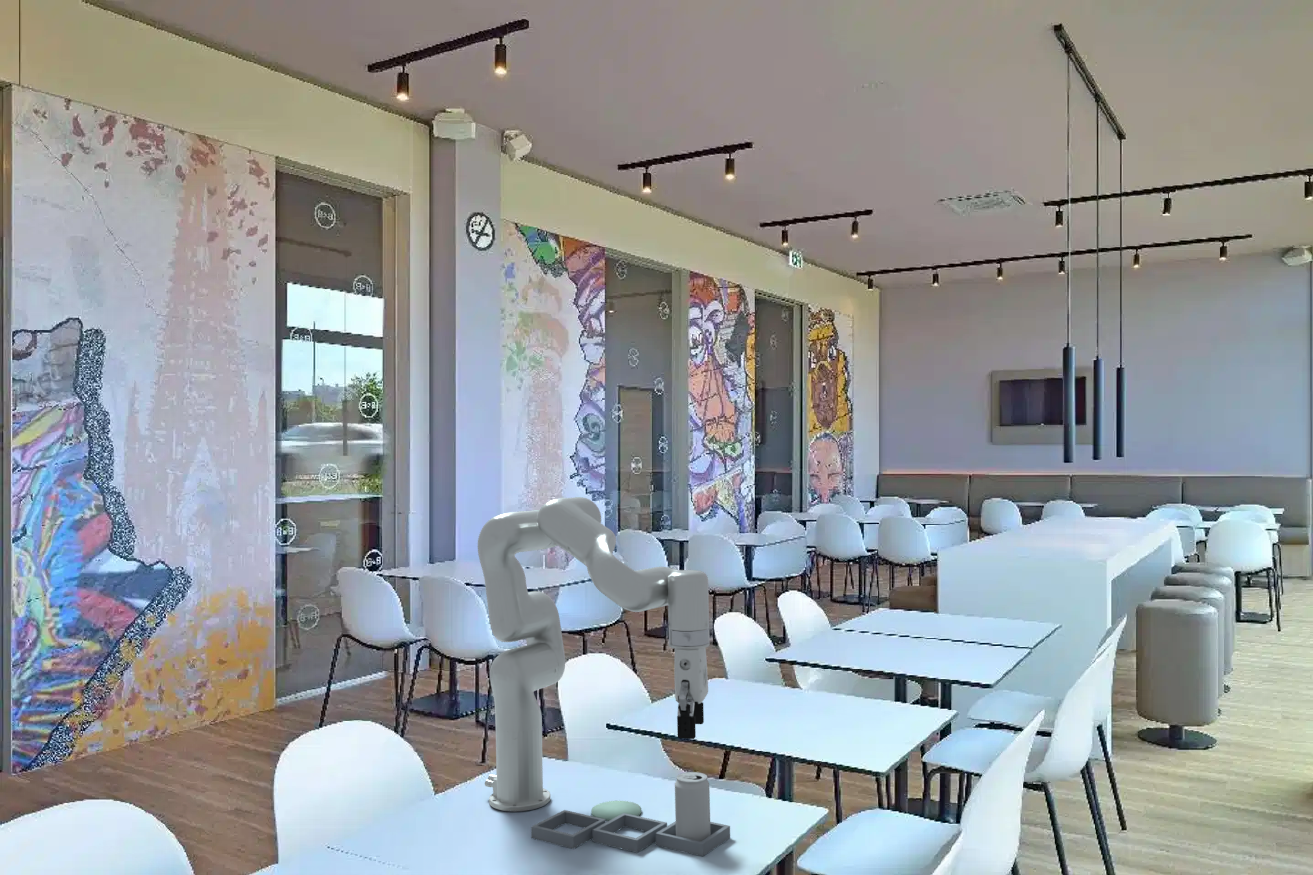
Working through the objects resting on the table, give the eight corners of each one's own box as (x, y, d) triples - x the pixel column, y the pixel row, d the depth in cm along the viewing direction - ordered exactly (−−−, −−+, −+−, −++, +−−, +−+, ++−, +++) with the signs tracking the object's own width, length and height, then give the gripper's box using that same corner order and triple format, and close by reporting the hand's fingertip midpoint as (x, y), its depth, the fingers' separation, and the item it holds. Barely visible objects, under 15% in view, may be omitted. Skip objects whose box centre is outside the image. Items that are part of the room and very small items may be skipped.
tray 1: (531, 838, 186) (531, 826, 186) (564, 821, 194) (564, 809, 194) (573, 848, 180) (573, 836, 180) (605, 830, 189) (605, 819, 189)
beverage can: (707, 849, 179) (706, 782, 179) (673, 847, 180) (671, 780, 180) (713, 836, 185) (711, 771, 185) (679, 834, 186) (677, 769, 187)
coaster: (581, 815, 197) (581, 812, 197) (610, 800, 205) (610, 797, 205) (622, 825, 191) (622, 821, 191) (651, 809, 200) (650, 806, 200)
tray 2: (592, 841, 183) (592, 829, 183) (623, 824, 192) (623, 812, 192) (637, 852, 178) (637, 840, 178) (667, 834, 186) (667, 822, 186)
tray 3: (655, 845, 181) (655, 833, 181) (684, 827, 190) (684, 815, 190) (702, 856, 176) (702, 843, 176) (730, 837, 184) (730, 825, 184)
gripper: (702, 647, 174) (704, 745, 174) (715, 629, 191) (717, 719, 191) (660, 646, 176) (662, 743, 175) (677, 629, 192) (679, 717, 192)
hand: (691, 730), depth 183 cm, fingers open, 9 cm apart
